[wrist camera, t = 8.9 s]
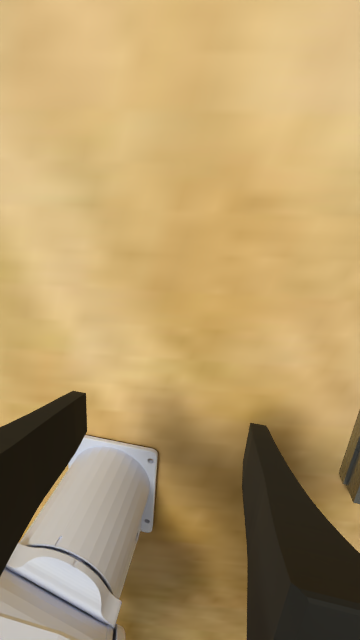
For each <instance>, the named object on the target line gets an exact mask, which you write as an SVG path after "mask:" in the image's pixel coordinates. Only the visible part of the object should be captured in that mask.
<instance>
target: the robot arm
mask: <svg viewBox="0 0 360 640" xmlns="http://www.w3.org/2000/svg"><path fill="white" fill-rule="evenodd" d="M86 432H87V415H86V393H81V392H76V391H72V392H70V393H68V394H66V395H64V396H62V397H60V398H58V399H56V400H54V401H52V402H51V403H49V404H47V405H45V406H43V407H41V408H39V409H37V410H35V411H34V412H32V413H30V414H28V415H25V416H23V417H21V418H19V419H17V420H15V421H13V422H11V423H9V424H7V425H4V426H2V427H0V640H126V636H125V630H124V628H123V627H122V626H120V625H118V624H116V621H117V617H118V614H119V611H120V607H121V604H122V602H121V600H119V598H120V596H121V592H122V589H123V586H124V583H125V579H126V576H127V573H128V570H129V567H130V563H131V560H132V557H133V554H134V551H135V547H136V544H137V541H138V538H139V534H140V531H142V532H147V533H149V532H151V531H152V528H153V518H154V504H155V489H156V474H157V460H158V453H157V451H156V450H155V449H152V448H147V447H142V446H137V445H132V444H127V443H122V442H117V441H112V440H107V439H102V438H97V437H92V436H88V435H85V434H86ZM150 459H153V460H150ZM67 465H69V469H68V471H67V472H66V474H65V475H64V477H63V478H62V480H61V481H60V483H59V484H58V486H57V487H56V489H55V490H54V492H53V493H52V495H51V496H50V498H49V499H48V501H47V502H46V504H45V505H44V507H43V508H42V510H41V511H40V513H39V514H38V516H37V517H36V519H35V520H34V522H33V523H32V525H31V526H30V528H29V529H28V530H27V532H26V533H25V535H24V536H23V538H22V539H21V541H20V542H19V540H20V538H21V537H22V535H23V533H24V531H25V529H26V528H27V526H28V524H29V522H30V521H31V519H32V517H33V515H34V514H35V512H36V510H37V508H38V507H39V505H40V504H41V502H42V501H43V499H44V497H45V496H46V495H47V493H48V492H49V490H50V489H51V487H52V486H53V485H54V483H55V482H56V480H57V479H58V477H59V476H60V475H61V473H62V472H63V470H64V469H65V467H66V466H67ZM242 490H243V503H244V515H245V527H246V539H247V557H248V587H247V640H360V553H359V552H358V551H357V550H356V549H355V548H354V547H353V546H352V545H351V544H350V543H349V542H348V541H347V540H346V539H345V538H344V537H343V536H342V535H341V534H340V533H339V532H338V531H337V530H336V529H335V527H334V526H333V525H332V524H331V523H330V522H329V521H328V520H327V519H326V518H325V516H324V515H323V514H322V513H321V512H320V510H319V509H318V508H317V507H316V505H315V504H314V503H313V502H312V500H311V499H310V498H309V496H308V495H307V494H306V492H305V491H304V489H303V488H302V487H301V485H300V484H299V482H298V481H297V479H296V478H295V476H294V475H293V473H292V472H291V470H290V468H289V467H288V465H287V463H286V462H285V460H284V458H283V457H282V455H281V453H280V451H279V450H278V448H277V446H276V444H275V442H274V440H273V438H272V436H271V434H270V432H269V430H268V428H267V427H266V426H265V425H259V424H254V423H250V428H249V433H248V438H247V444H246V449H245V454H244V459H243V477H242ZM18 542H19V543H18Z"/></svg>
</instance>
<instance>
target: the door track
mask: <svg viewBox="0 0 360 640" xmlns="http://www.w3.org/2000/svg"><path fill="white" fill-rule="evenodd" d="M339 474H340V477H341V479H342V482H343V484H346V485H347V488H348V490H349V493H350V495H351V498H352V500H353V503H358V504H360V411H359V414H358V417H357V420H356V423H355V426H354V429H353V432H352V435H351V438H350V441H349V444H348V447H347V450H346V453H345V456H344V459H343V462H342V465H341V468H340V471H339Z"/></svg>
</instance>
